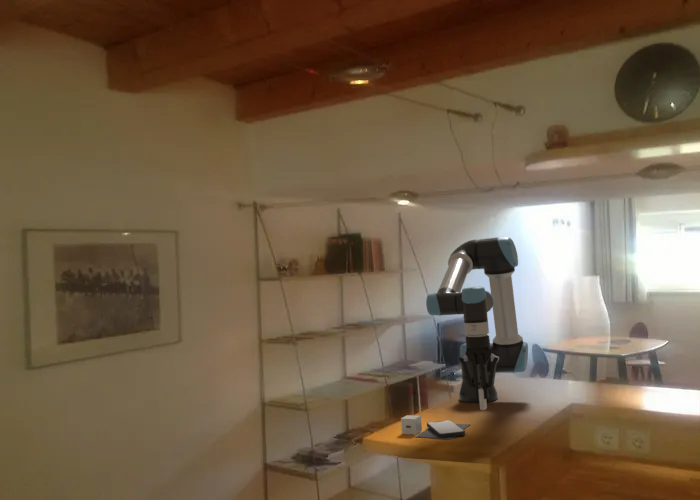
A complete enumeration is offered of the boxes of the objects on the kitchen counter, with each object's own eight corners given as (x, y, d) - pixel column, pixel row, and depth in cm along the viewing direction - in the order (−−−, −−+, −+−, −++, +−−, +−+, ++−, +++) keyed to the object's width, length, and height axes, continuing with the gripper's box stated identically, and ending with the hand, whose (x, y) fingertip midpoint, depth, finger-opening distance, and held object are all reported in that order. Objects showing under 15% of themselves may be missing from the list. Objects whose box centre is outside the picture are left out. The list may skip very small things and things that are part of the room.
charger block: (408, 430, 213) (406, 415, 213) (421, 431, 211) (420, 415, 211) (401, 434, 209) (400, 418, 209) (416, 434, 206) (414, 419, 206)
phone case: (466, 436, 200) (450, 424, 216) (466, 431, 200) (450, 419, 216) (439, 439, 199) (425, 427, 215) (439, 434, 199) (425, 422, 215)
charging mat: (436, 423, 220) (436, 422, 220) (470, 424, 214) (469, 424, 214) (415, 437, 203) (415, 436, 203) (451, 439, 198) (451, 438, 198)
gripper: (453, 337, 203) (460, 410, 203) (494, 336, 197) (500, 412, 197) (461, 333, 210) (467, 405, 209) (500, 333, 204) (506, 406, 203)
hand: (483, 408), depth 203 cm, fingers closed
